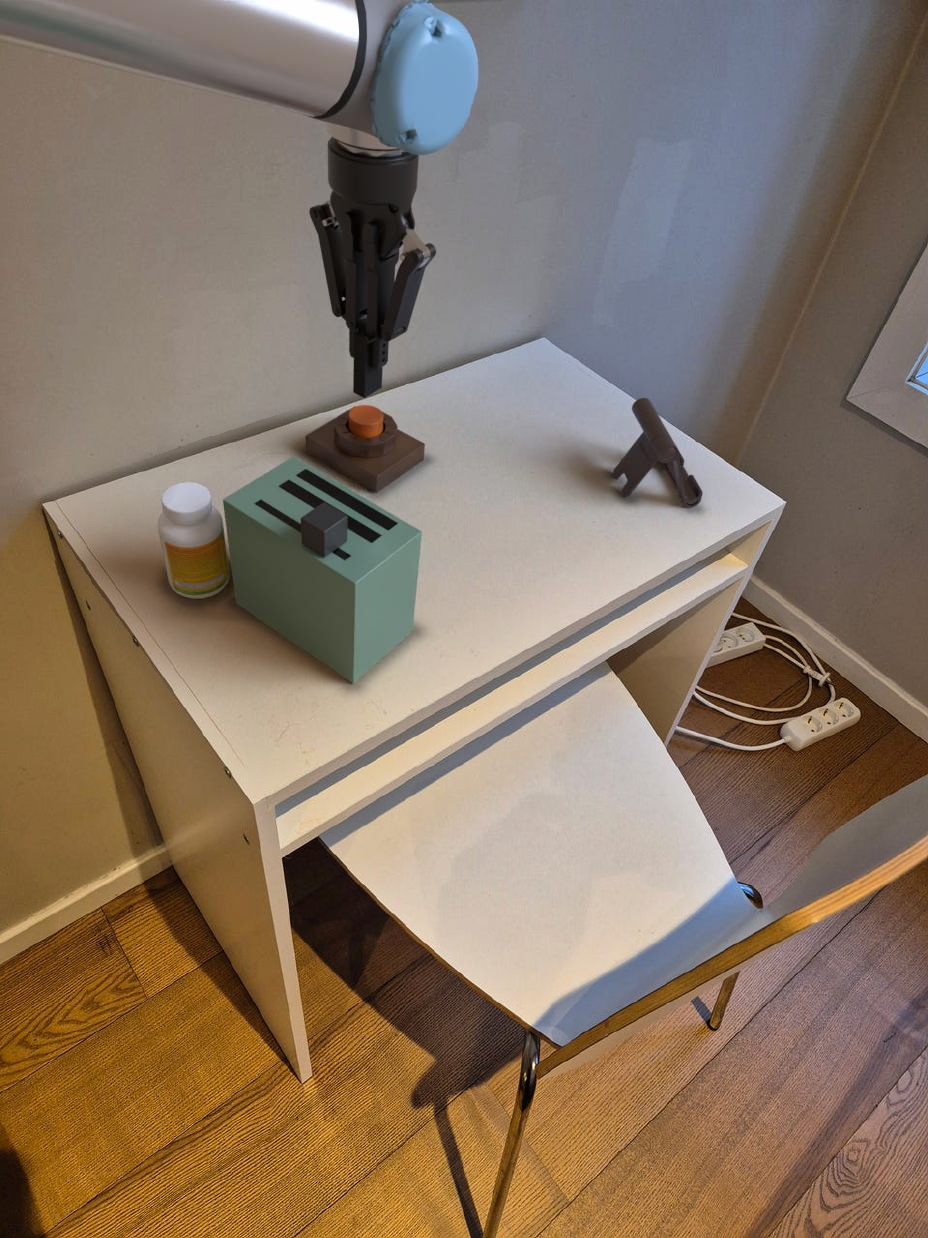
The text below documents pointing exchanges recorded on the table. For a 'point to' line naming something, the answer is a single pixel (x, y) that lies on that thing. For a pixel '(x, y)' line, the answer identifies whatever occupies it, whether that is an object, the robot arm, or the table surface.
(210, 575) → the supplement bottle
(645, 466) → the tablet stand
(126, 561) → the table surface
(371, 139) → the robot arm
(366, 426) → the button
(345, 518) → the slider
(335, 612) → the toaster
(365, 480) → the button block
